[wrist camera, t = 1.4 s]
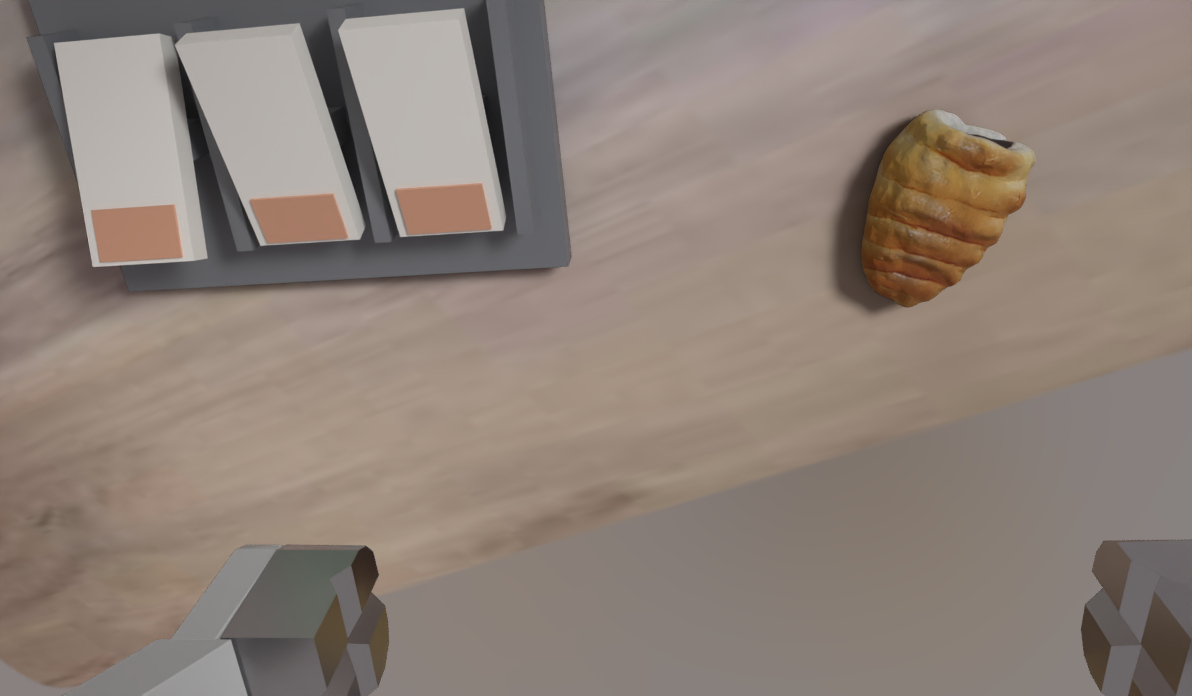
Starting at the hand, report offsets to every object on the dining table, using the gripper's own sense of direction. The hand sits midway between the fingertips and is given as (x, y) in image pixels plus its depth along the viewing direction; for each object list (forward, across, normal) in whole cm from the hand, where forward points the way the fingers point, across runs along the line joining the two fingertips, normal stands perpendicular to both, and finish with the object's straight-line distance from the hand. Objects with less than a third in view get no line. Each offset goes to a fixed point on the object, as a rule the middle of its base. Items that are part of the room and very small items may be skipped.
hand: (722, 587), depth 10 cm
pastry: (+36, -13, +5) cm, 39 cm away
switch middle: (+31, +18, 0) cm, 36 cm away
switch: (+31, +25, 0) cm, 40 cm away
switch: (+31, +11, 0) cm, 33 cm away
